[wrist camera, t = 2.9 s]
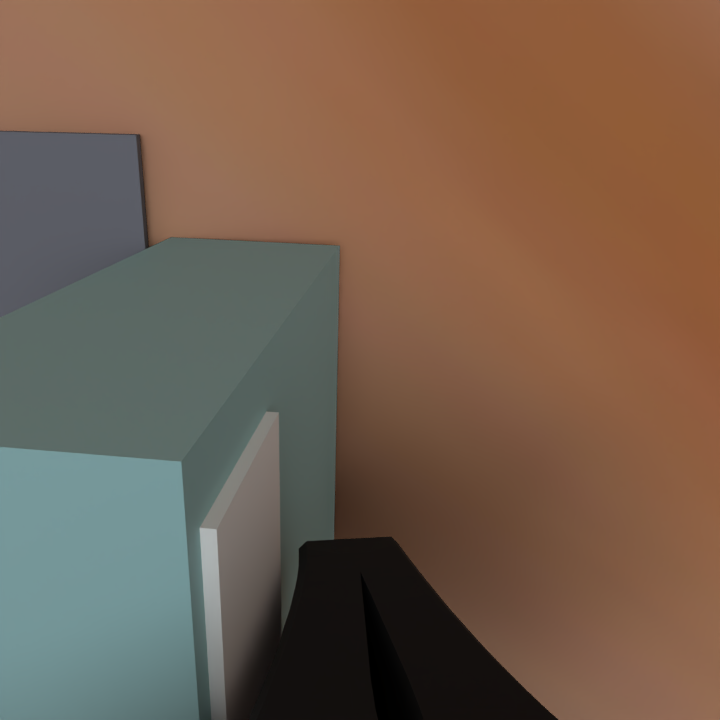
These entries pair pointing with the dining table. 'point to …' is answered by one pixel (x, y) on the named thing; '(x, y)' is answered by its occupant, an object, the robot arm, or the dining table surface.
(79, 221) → the mat
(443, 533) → the dining table surface
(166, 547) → the slab
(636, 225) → the dining table surface
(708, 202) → the dining table surface
